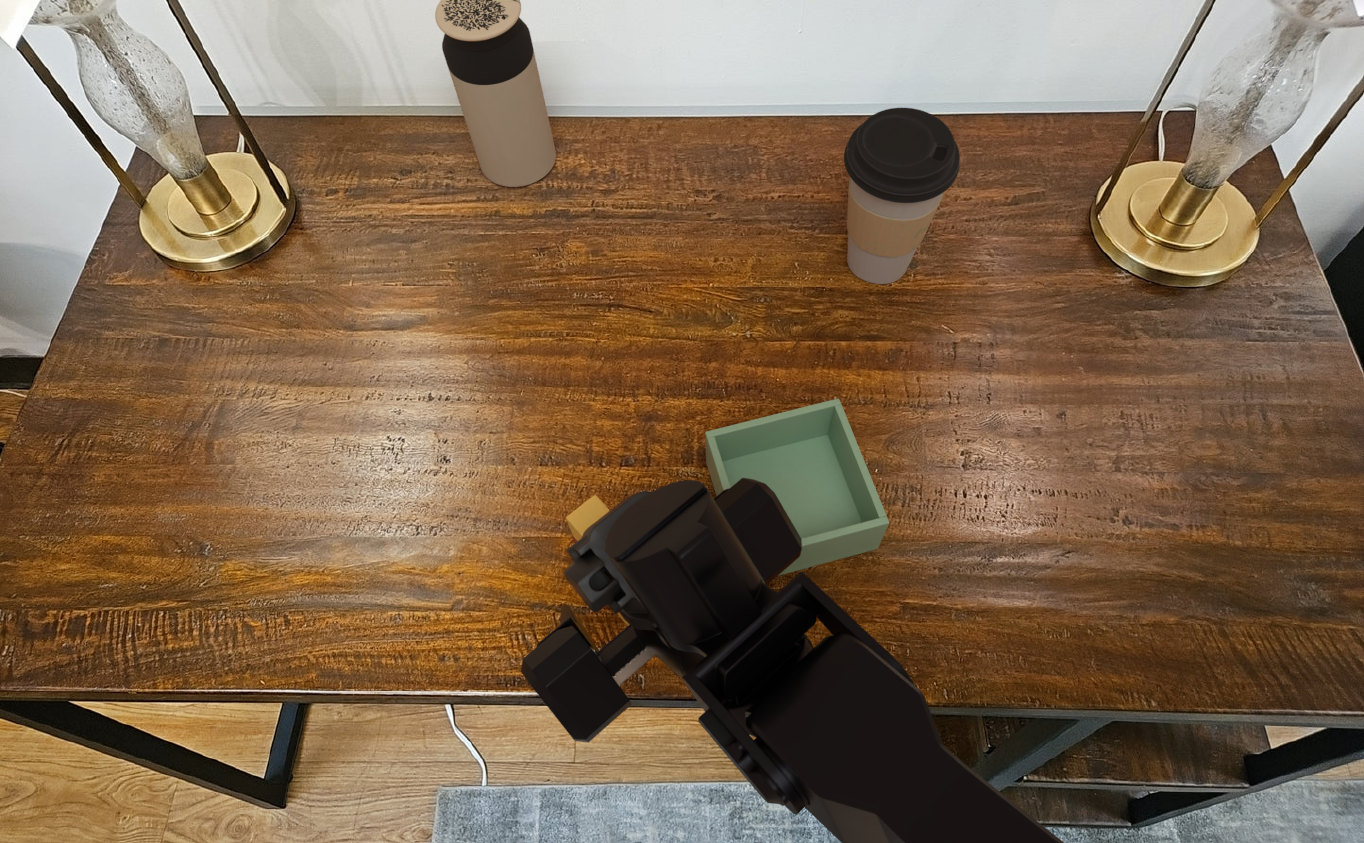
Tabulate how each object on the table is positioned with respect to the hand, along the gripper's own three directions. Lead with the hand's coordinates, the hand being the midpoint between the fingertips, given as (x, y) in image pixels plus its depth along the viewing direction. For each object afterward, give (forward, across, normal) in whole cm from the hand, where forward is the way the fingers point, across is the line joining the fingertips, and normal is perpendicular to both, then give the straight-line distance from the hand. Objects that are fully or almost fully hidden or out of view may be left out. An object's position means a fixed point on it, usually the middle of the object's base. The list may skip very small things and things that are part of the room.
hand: (618, 567), depth 62 cm
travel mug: (+38, -21, -25) cm, 50 cm away
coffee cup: (+13, -39, -1) cm, 41 cm away
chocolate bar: (+6, 0, +6) cm, 8 cm away
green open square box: (+4, -15, +8) cm, 18 cm away
